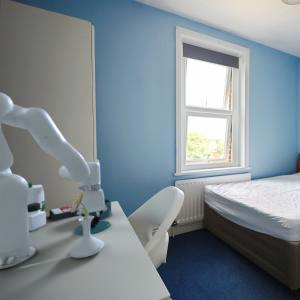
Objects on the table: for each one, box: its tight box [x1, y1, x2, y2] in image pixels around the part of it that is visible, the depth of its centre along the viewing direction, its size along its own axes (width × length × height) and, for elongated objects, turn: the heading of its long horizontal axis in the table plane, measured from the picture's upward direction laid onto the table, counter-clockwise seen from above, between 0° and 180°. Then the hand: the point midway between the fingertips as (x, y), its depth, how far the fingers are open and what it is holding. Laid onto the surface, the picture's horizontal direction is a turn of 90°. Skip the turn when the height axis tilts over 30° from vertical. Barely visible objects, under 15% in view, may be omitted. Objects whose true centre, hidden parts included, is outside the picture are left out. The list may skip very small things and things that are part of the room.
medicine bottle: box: [27, 203, 47, 232], centre depth 102 cm, size 7×7×12 cm
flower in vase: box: [68, 191, 105, 259], centre depth 79 cm, size 13×11×25 cm
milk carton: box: [27, 182, 46, 212], centre depth 111 cm, size 9×9×20 cm
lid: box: [74, 215, 111, 236], centre depth 101 cm, size 15×15×6 cm
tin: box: [81, 198, 112, 221], centre depth 115 cm, size 14×14×8 cm
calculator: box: [48, 205, 79, 222], centre depth 118 cm, size 11×4×15 cm
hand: (93, 224), depth 101 cm, fingers closed on lid, 2 cm apart
